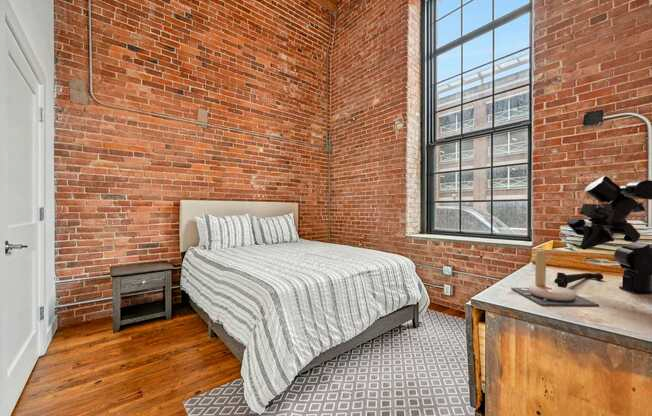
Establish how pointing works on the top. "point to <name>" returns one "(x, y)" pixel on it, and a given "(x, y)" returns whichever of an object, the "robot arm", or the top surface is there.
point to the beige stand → (540, 282)
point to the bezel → (549, 302)
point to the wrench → (574, 278)
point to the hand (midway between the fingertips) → (582, 248)
